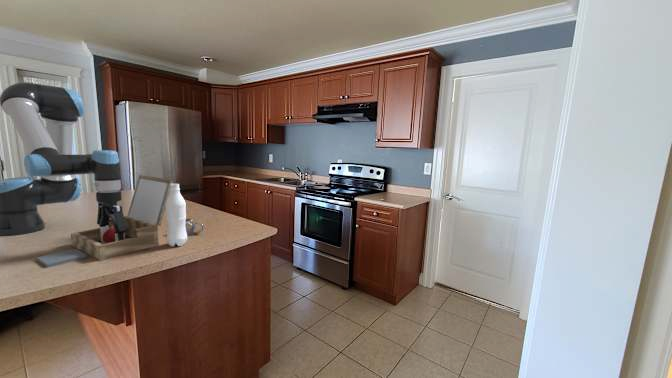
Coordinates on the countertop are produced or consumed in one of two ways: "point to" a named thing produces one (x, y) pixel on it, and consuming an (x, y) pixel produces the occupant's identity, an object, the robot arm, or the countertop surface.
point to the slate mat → (61, 257)
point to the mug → (192, 227)
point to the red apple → (109, 235)
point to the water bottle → (176, 217)
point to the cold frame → (137, 229)
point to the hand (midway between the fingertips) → (113, 245)
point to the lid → (150, 199)
